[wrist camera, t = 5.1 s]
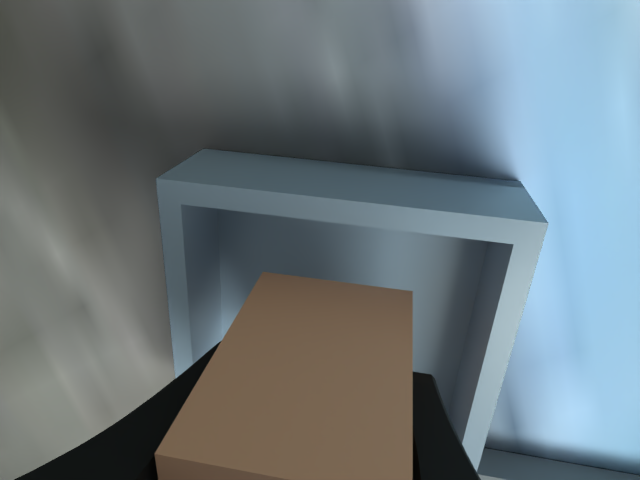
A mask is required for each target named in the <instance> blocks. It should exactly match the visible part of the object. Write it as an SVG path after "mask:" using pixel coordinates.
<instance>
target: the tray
mask: <svg viewBox="0 0 640 480" xmlns="http://www.w3.org/2000/svg"><path fill="white" fill-rule="evenodd" d="M156 185H157V196H158V206H159V216H160V226H161V236H162V246H163V256H164V267H165V277H166V287H167V297H168V307H169V317H170V327H171V337H172V348H173V358H174V368H175V378H177V377H178V376H179V375H181V374H182V373H183V372H184V371H185V370H187V369H188V368H189V367H190V366H191V365H193V364H194V363H195V362H196V361H197V360H199V359H200V358H201V357H202V356H203V355H204V354H206V353H207V352H208V351H209V350H210V349H211V348H213V347H214V346H215V345H216V344H218V343H219V342H220V341H222V339H223V338H224V336H225V334H226V333H227V331H228V329H229V328H230V326H231V324H232V323H233V321H234V319H235V318H236V316H237V314H238V312H239V311H240V309H241V307H242V306H243V304H244V302H245V301H246V299H247V297H248V296H249V294H250V292H251V291H252V289H253V287H254V286H255V284H256V282H257V281H258V279H259V277H260V275H261V274H262V272H269V273H277V274H285V275H292V276H300V277H308V278H315V279H323V280H331V281H338V282H346V283H354V284H362V285H369V286H377V287H385V288H392V289H400V290H408V291H413V372H419V373H426V374H432V376H433V377H434V378H435V380H436V383H437V386H438V389H439V392H440V395H441V398H442V400H443V403H444V405H445V408H446V410H447V413H448V415H449V417H450V420H451V422H452V424H453V426H454V428H455V431H456V433H457V435H458V437H459V439H460V441H461V443H462V445H463V447H464V449H465V451H466V453H467V455H468V457H469V459H470V461H471V463H472V464H473V466H474V468H475V470H476V472H477V470H478V466H479V463H480V459H481V456H482V452H483V449H484V445H485V442H486V438H487V435H488V431H489V428H490V424H491V421H492V418H493V414H494V411H495V407H496V404H497V400H498V397H499V393H500V390H501V386H502V383H503V379H504V376H505V372H506V369H507V366H508V362H509V359H510V355H511V352H512V348H513V345H514V341H515V338H516V334H517V331H518V327H519V324H520V320H521V317H522V313H523V310H524V307H525V303H526V300H527V296H528V293H529V289H530V286H531V282H532V279H533V275H534V272H535V268H536V265H537V261H538V258H539V254H540V251H541V248H542V244H543V241H544V237H545V234H546V230H547V227H548V222H547V220H546V219H545V217H544V216H543V214H542V213H541V211H540V210H539V208H538V207H537V205H536V204H535V202H534V201H533V199H532V198H531V196H530V195H529V193H528V192H527V190H526V189H525V187H524V186H523V184H522V183H521V181H512V180H502V179H493V178H483V177H473V176H464V175H454V174H444V173H435V172H425V171H415V170H406V169H396V168H386V167H377V166H367V165H357V164H348V163H338V162H328V161H318V160H309V159H299V158H289V157H280V156H270V155H260V154H251V153H241V152H231V151H222V150H212V149H202V150H201V151H199V152H198V153H196V154H194V155H193V156H191V157H190V158H188V159H186V160H185V161H183V162H182V163H180V164H178V165H177V166H175V167H174V168H172V169H170V170H169V171H167V172H166V173H164V174H162V175H161V176H159V177H158V178H156Z"/></svg>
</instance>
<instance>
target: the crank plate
mask: <svg viewBox="0 0 640 480" xmlns="http://www.w3.org/2000/svg"><path fill="white" fill-rule="evenodd" d="M477 474H478V475H479V477H480V479H481V480H640V475H634V474H629V473H623V472H617V471H612V470H606V469H600V468H595V467H589V466H583V465H578V464H572V463H566V462H561V461H555V460H549V459H544V458H538V457H532V456H527V455H521V454H515V453H510V452H504V451H498V450H493V449H487V448H484V449H483V452H482V456H481V459H480V463H479V466H478V470H477Z"/></svg>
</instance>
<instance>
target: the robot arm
mask: <svg viewBox="0 0 640 480" xmlns="http://www.w3.org/2000/svg"><path fill="white" fill-rule="evenodd" d="M220 343H221V341H220V342H219V343H218V344H216V345H215V346H214V347H213V348H211V349H210V350H209V351H208V352H207V353H206V354H204V355H203V356H202V357H201V358H200V359H199V360H197V361H196V362H195V363H194V364H193V365H191V366H190V367H189V368H188V369H187V370H185V371H184V372H183V373H182V374H181V375H179V376H178V377H177V378H176V379H174V380H173V381H172V382H171V383H169V384H168V385H167V386H166V387H164V388H163V389H162V390H161V391H159V392H158V393H157V394H155V395H154V396H153V397H152V398H150V399H149V400H147V401H146V402H145V403H143V404H142V405H141V406H139V407H138V408H136V409H135V410H134V411H132V412H131V413H129V414H128V415H127V416H125V417H124V418H122V419H121V420H119V421H118V422H116V423H115V424H113V425H112V426H110V427H109V428H107V429H106V430H104V431H103V432H101V433H100V434H98V435H96V436H95V437H93V438H91V439H90V440H88V441H86V442H85V443H83V444H81V445H80V446H78V447H76V448H74V449H72V450H71V451H69V452H67V453H65V454H63V455H61V456H59V457H58V458H56V459H54V460H52V461H50V462H48V463H46V464H44V465H43V466H41V467H39V468H37V469H35V470H33V471H31V472H29V473H27V474H25V475H23V476H21V477H19V478H17V479H15V480H158V474H157V467H156V461H155V452H156V450H157V449H158V447H159V445H160V444H161V442H162V440H163V439H164V437H165V435H166V434H167V432H168V430H169V429H170V427H171V425H172V424H173V422H174V420H175V419H176V417H177V415H178V413H179V412H180V410H181V408H182V407H183V405H184V403H185V402H186V400H187V398H188V397H189V395H190V393H191V392H192V390H193V388H194V387H195V385H196V383H197V381H198V380H199V378H200V376H201V375H202V373H203V371H204V370H205V368H206V366H207V365H208V363H209V361H210V360H211V358H212V356H213V355H214V353H215V351H216V350H217V348H218V346H219V344H220ZM413 480H481V479H480V477H479V475H478V474H477V472H476V470H475V468H474V466H473V464H472V463H471V461H470V459H469V457H468V455H467V453H466V451H465V449H464V447H463V445H462V443H461V441H460V439H459V437H458V435H457V433H456V431H455V428H454V426H453V424H452V422H451V420H450V417H449V415H448V413H447V410H446V408H445V405H444V403H443V400H442V398H441V395H440V392H439V389H438V386H437V383H436V380H435V378H434V377H433V376H432V374H426V373H419V372H413Z"/></svg>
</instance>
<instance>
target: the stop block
mask: <svg viewBox="0 0 640 480" xmlns="http://www.w3.org/2000/svg"><path fill="white" fill-rule="evenodd" d="M155 461H156V467H157V474H158V480H413V291H408V290H400V289H392V288H385V287H377V286H369V285H362V284H354V283H346V282H338V281H331V280H323V279H315V278H308V277H300V276H292V275H285V274H277V273H269V272H262V274H261V275H260V277H259V279H258V281H257V282H256V284H255V286H254V287H253V289H252V291H251V292H250V294H249V296H248V297H247V299H246V301H245V302H244V304H243V306H242V307H241V309H240V311H239V312H238V314H237V316H236V318H235V319H234V321H233V323H232V324H231V326H230V328H229V329H228V331H227V333H226V334H225V336H224V338H223V339H222V341H221V343H220V344H219V346H218V348H217V350H216V351H215V353H214V355H213V356H212V358H211V360H210V361H209V363H208V365H207V366H206V368H205V370H204V371H203V373H202V375H201V376H200V378H199V380H198V381H197V383H196V385H195V387H194V388H193V390H192V392H191V393H190V395H189V397H188V398H187V400H186V402H185V403H184V405H183V407H182V408H181V410H180V412H179V413H178V415H177V417H176V419H175V420H174V422H173V424H172V425H171V427H170V429H169V430H168V432H167V434H166V435H165V437H164V439H163V440H162V442H161V444H160V445H159V447H158V449H157V450H156V452H155Z"/></svg>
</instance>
